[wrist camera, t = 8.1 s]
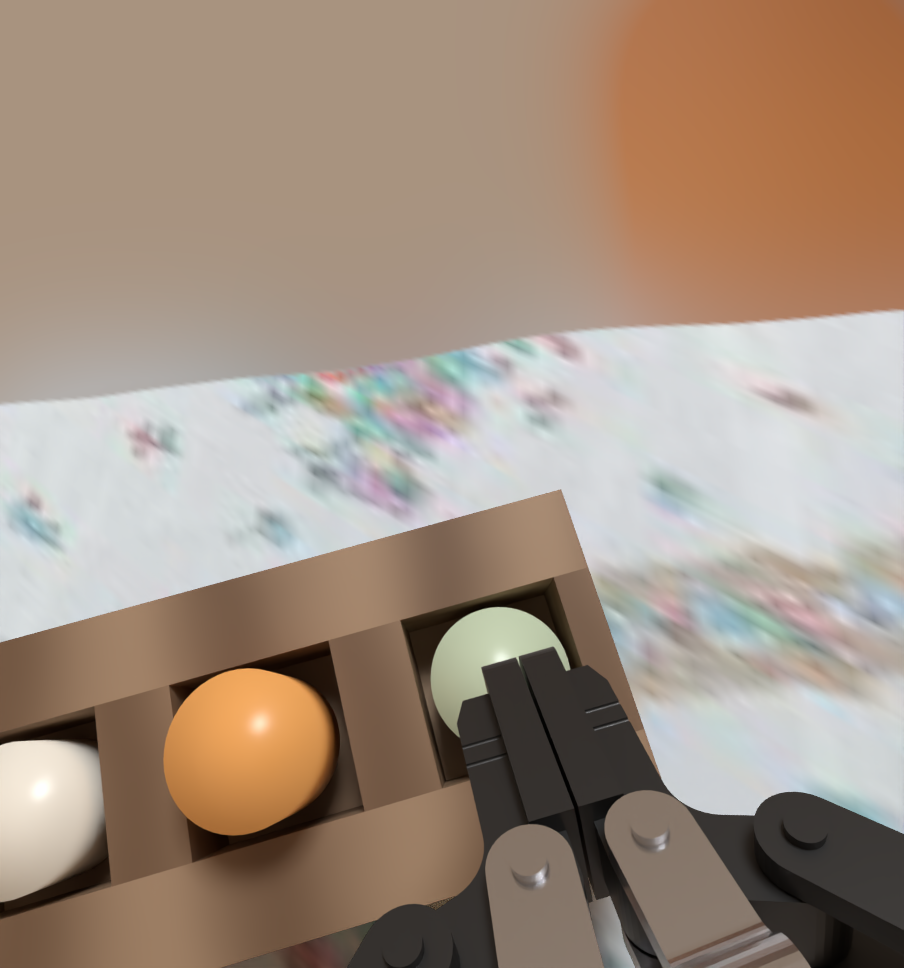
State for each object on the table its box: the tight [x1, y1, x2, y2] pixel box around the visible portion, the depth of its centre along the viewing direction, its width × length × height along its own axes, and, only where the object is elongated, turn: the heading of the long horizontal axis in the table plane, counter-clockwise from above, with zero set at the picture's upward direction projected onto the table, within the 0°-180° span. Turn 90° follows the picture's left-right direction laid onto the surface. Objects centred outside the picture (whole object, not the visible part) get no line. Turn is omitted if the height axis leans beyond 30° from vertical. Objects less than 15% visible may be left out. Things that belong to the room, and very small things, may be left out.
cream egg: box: [0, 739, 109, 902], centre depth 20 cm, size 4×4×3 cm
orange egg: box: [163, 668, 340, 835], centre depth 19 cm, size 4×4×3 cm
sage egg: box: [431, 607, 570, 738], centre depth 21 cm, size 4×4×3 cm
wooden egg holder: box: [0, 490, 661, 968], centre depth 24 cm, size 21×10×9 cm, turn 105°
